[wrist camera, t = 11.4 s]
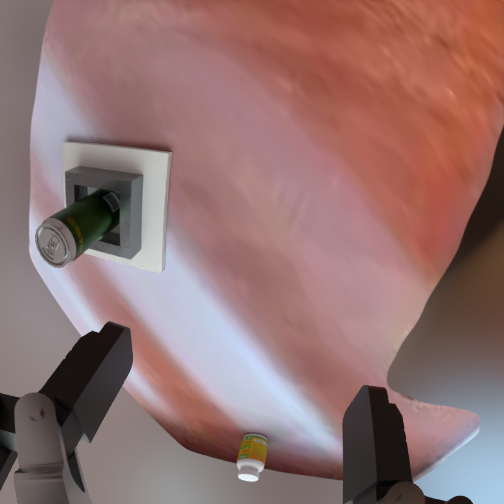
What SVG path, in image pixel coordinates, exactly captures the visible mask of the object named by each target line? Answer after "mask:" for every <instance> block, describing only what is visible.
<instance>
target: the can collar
mask: <svg viewBox="0 0 504 504" xmlns="http://www.w3.org/2000/svg"><path fill="white" fill-rule="evenodd" d="M143 176H144V175H141V174H134V173H127V172H121V171H114V170H107V169H99V168H92V167H84V166H77V167H75V168H72V169H70V170H67V171H65V190H66V207H68V206H69V205H71V204H73V203H75V202H77V201H78V200H80V199H82V198H84V197H85V196H87V195H88V187H93V188H99V189H105V190H110V191H116V192H120V234H118V233H114V232H109V233H108V234H106V235H105V236H104V237H103V238H101V239H100V240H99V241H97V242H96V243H95V244H94V245H93V246H91V247H90V248H89V249H92V250H96V251H99V252H103V253H107V254H111V255H115V256H118V257H122V258H126V259H130V260H131V259H132V258H133V257H134V256H135V255H136V254H137V253H138V252H139V251H140V250H141V235H142V196H143Z"/></svg>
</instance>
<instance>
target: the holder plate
mask: <svg viewBox="0 0 504 504" xmlns="http://www.w3.org/2000/svg"><path fill="white" fill-rule="evenodd" d="M171 156H172V152H168V151H161V150H153V149H145V148H137V147H128V146H118V145H109V144H98V143H86V142H73V141H66V142H63V192H64V208H66V190H65V171H67V170H70V169H72V168H75V167H77V166H84V167H92V168H99V169H107V170H114V171H121V172H127V173H134V174H141V175H144V176H143V196H142V235H141V250H140V251H139V252H138V253H137V254H136V255H135V256H134V257H133V258H132V259H131V260H130V259H126V258H122V257H118V256H115V255H111V254H107V253H103V252H99V251H96V250H92V249H88V250H86V251H85V252H84V253H86V254H89V255H93V256H96V257H100V258H104V259H107V260H111V261H115V262H118V263H122V264H126V265H129V266H133V267H137V268H141V269H145V270H149V271H152V272H156V273H160V274H162V273H163V271H164V266H165V239H166V220H167V204H168V190H169V178H170V166H171ZM97 190H99V188H93V187H88V195H89V194H91V193H93V192H95V191H97ZM115 192H116V191H115ZM116 193H118V194H119V195H120V192H116ZM110 232H114V233H118V234H120V224H119V225H118V226H117V227H115V228H114V229H113V230H111V231H110Z"/></svg>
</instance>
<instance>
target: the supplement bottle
mask: <svg viewBox="0 0 504 504" xmlns="http://www.w3.org/2000/svg"><path fill="white" fill-rule="evenodd" d="M267 446H268V440H267V438H266V437H264V436H262V435H260V434H254V433H251V434H246V435H244V436H243V438H242V442H241V447H240V451H239V456H238V460H237V467H238V468H239V469H240V470H239V473H238V477H239V478H240V479H242V480H245V481H257V480H258V479H259V472H261V471H262V470H263V469H264V464H265V458H266V452H267Z"/></svg>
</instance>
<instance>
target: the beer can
mask: <svg viewBox="0 0 504 504" xmlns="http://www.w3.org/2000/svg"><path fill="white" fill-rule="evenodd" d="M119 224H120V195H119V194H118V193H116V192H115V191H110V190H105V189H99V190H97V191H95V192H93V193H91V194H89V195H87V196H85V197H84V198H82V199H80V200H78V201H77V202H75V203H73V204H71V205H69V206H68V207H66V208H64V209H63V210H61V211H59V212H57V213H56V214H54V215H52V216H51V217H49V218H47V219H46V220H44V222H43V223H42V224H41V225H40V226H39V227H38V229H37V230H36V234H35V242H36V246H37V249H38V251H39V253H40V255H41V256H42V258H43V259H44V260H45V261H46V262H47V263H48V264H49V265H51V266H53V267H56V268H61V267H64V266H65V265H69V264H71V263H72V262H73V261H74V260H76V259H77V258H78V257H79V256H80V255H82V254H83V253H84V252H85V251H86V250H88V249H89V248H90V247H91V246H93V245H94V244H95V243H96V242H97V241H99V240H100V239H101V238H103V237H104V236H105V235H106V234H108V233H109V232H110V231H111V230H113V229H114V228H115V227H117V226H118V225H119Z"/></svg>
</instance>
